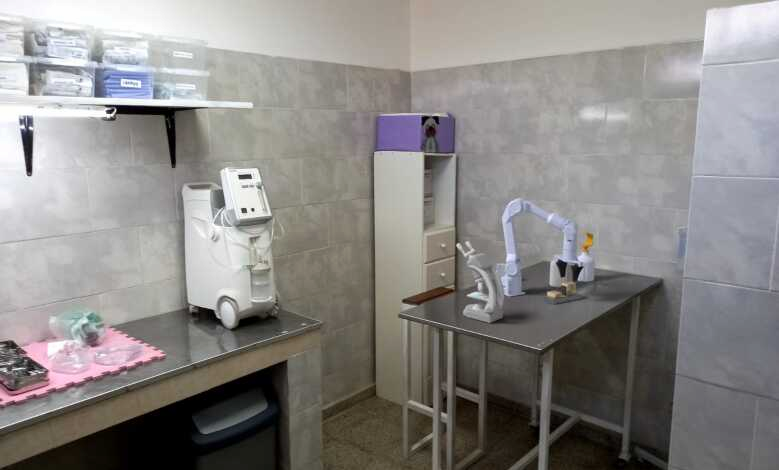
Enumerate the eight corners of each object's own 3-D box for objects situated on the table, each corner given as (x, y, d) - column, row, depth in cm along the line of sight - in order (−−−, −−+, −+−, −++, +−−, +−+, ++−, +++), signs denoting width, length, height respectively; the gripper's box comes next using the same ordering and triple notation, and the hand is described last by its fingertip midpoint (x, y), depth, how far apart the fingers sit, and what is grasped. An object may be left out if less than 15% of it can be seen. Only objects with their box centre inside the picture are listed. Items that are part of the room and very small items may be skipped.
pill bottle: (568, 287, 266) (569, 257, 264) (552, 287, 267) (552, 257, 264) (564, 283, 274) (565, 253, 272) (547, 283, 275) (548, 253, 272)
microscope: (469, 308, 238) (469, 239, 232) (506, 318, 224) (507, 245, 219) (453, 314, 230) (453, 243, 225) (490, 324, 217) (491, 249, 212)
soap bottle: (571, 278, 283) (572, 231, 278) (584, 276, 286) (586, 229, 282) (583, 282, 274) (585, 233, 270) (597, 280, 278) (600, 232, 274)
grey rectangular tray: (553, 304, 241) (553, 299, 240) (543, 300, 247) (543, 295, 246) (581, 299, 248) (581, 294, 247) (570, 295, 254) (570, 290, 253)
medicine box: (511, 280, 283) (512, 263, 281) (512, 282, 278) (513, 265, 277) (496, 279, 284) (496, 263, 282) (496, 282, 279) (497, 265, 278)
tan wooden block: (566, 298, 246) (566, 285, 245) (560, 296, 249) (560, 283, 248) (575, 296, 248) (575, 283, 247) (569, 294, 251) (570, 281, 250)
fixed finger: (554, 301, 242) (555, 294, 242) (547, 298, 246) (547, 291, 246) (562, 299, 244) (562, 293, 244) (554, 296, 248) (555, 290, 248)
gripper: (589, 251, 240) (587, 281, 242) (565, 245, 253) (564, 274, 255) (576, 252, 237) (575, 283, 239) (553, 247, 250) (552, 276, 252)
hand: (568, 279), depth 247 cm, fingers open, 7 cm apart
